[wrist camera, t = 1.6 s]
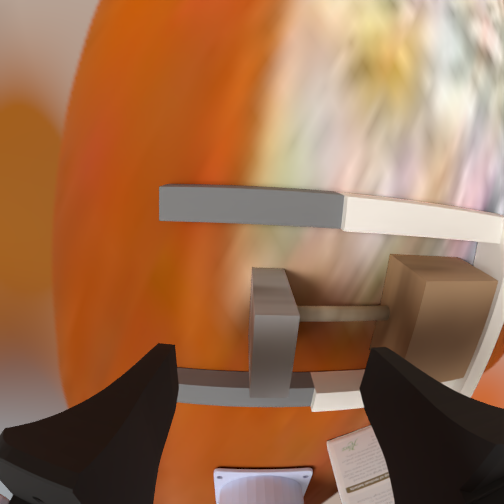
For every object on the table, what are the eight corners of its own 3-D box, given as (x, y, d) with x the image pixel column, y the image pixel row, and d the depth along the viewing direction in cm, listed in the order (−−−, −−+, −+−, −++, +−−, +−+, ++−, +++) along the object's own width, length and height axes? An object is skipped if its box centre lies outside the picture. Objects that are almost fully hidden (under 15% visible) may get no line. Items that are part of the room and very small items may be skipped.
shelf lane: (451, 373, 18) (470, 397, 15) (306, 390, 18) (314, 423, 15) (497, 213, 15) (528, 224, 12) (335, 191, 14) (355, 199, 12)
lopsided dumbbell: (433, 343, 17) (471, 387, 13) (247, 350, 17) (248, 413, 12) (457, 257, 16) (510, 287, 11) (253, 247, 15) (256, 288, 10)
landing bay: (306, 390, 18) (310, 406, 16) (177, 385, 18) (173, 401, 16) (335, 191, 14) (344, 195, 13) (167, 183, 14) (159, 186, 13)
